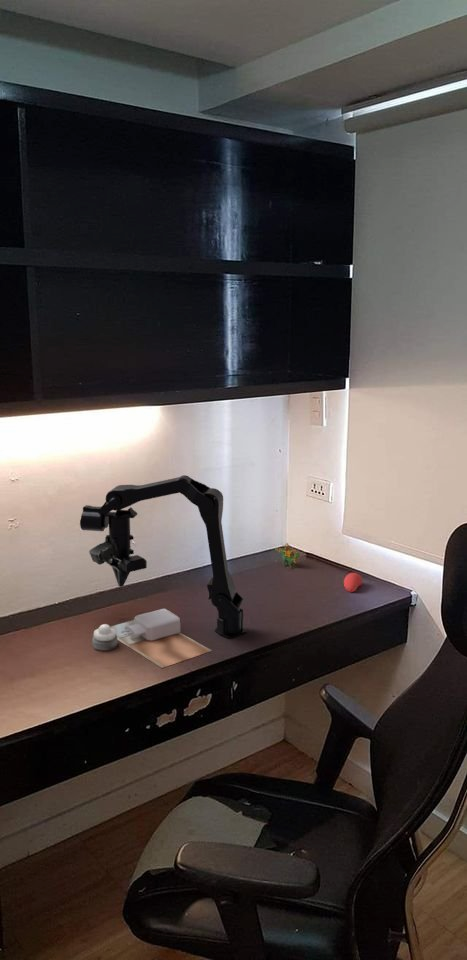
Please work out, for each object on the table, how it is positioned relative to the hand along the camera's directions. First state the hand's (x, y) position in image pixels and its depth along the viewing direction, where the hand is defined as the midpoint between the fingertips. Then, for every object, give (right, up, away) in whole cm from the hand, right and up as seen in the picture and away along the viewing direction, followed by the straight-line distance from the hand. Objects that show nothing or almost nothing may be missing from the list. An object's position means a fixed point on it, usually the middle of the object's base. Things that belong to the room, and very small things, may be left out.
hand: (120, 586), depth 208 cm
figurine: (+50, -1, +51) cm, 71 cm away
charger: (+8, -13, -6) cm, 16 cm away
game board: (+7, -14, -10) cm, 19 cm away
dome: (-2, -12, -12) cm, 17 cm away
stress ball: (+69, -5, +31) cm, 76 cm away
